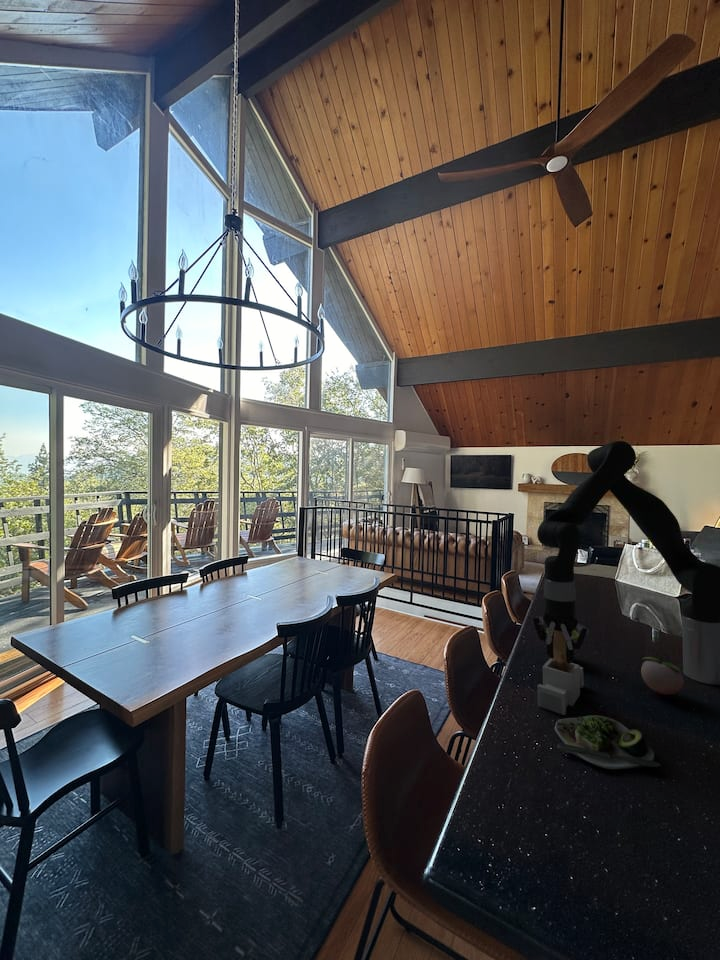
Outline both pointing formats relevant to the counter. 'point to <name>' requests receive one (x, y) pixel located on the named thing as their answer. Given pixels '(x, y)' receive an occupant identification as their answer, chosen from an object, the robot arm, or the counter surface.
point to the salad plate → (605, 743)
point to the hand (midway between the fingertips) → (560, 659)
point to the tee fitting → (559, 687)
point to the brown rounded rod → (559, 651)
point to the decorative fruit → (662, 676)
